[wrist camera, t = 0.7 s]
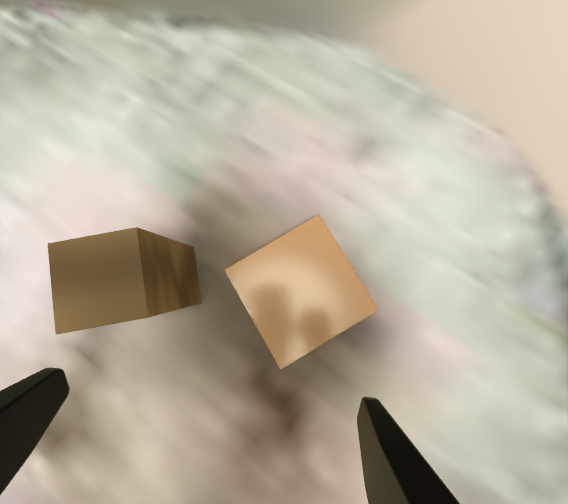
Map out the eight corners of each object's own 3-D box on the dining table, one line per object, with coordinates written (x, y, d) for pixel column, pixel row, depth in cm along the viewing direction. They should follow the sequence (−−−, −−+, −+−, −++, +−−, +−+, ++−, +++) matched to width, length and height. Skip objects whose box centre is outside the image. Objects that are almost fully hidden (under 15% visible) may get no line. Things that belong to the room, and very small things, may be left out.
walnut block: (201, 302, 23) (148, 317, 14) (145, 313, 23) (55, 334, 14) (193, 247, 24) (136, 227, 15) (138, 257, 24) (47, 243, 15)
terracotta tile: (281, 359, 23) (280, 369, 20) (230, 270, 24) (224, 270, 21) (368, 306, 23) (378, 309, 21) (315, 221, 24) (319, 214, 22)
